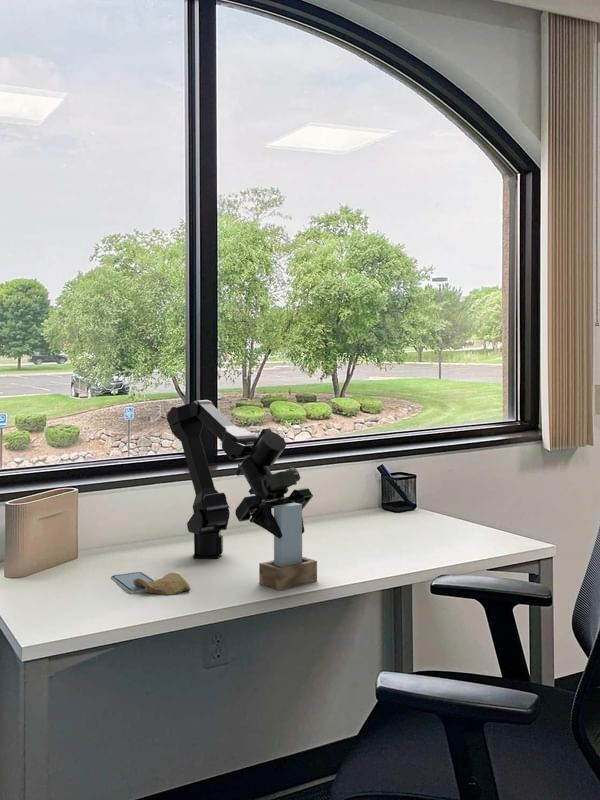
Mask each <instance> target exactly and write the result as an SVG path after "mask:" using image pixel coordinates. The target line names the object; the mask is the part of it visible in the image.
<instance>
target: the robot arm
mask: <svg viewBox="0 0 600 800" xmlns="http://www.w3.org/2000/svg"><path fill="white" fill-rule="evenodd" d="M166 420H167V423H168V426H169V428H170V431H171V433H172V435H174V436H175V437H176V438H177V439H178V441H180V443H181V446H182V451H183V454H184V457H185V461H186V464H187V467H188V471H189V476H190V478H191V482H192V485H193V489H194V493H195V496H194V500H193V503H192V511H193V513H192V516H191V517H190V518H189V520H188V521H187V522H186V527H187V532H188V533H191V534H193V544H194V545H193V546H194V547H193V551H194V552H193V554H192V559H193V558H194V559H219V558H220V557H221V556H222V554H223V552H224V536H223V535H222V533H221V532H222V531H226V530H227V529H228V524H229V520H230V516H231V515H230V505H229V504H228V503H229V502H228V501H227V496H226V494H225V492H219V491H218V490H217V489H216V487H215V484H214V481H213V478H212V473H211V469H210V466H209V464H208V459H207V456H206V452H205V449H204V445H203V442H202V440H201V439H202V438H201V433H202V431H203V427H204V426H205V427H207V429H209V431H211V432H212V434H214V435H215V437H217V438H218V439H219V441H220V442H221V449H222V451H223V452H224V453H225V455H226V456H227V457H228V458H229V459H230V460H233V461H234V460H242V459H243V460H242V461H241V463H238V464H237V469H236V476H237V477H239V476H244V478H245V480H246V481H247V483H248V485H249V487H250V488H249V490H248V493H249V495H250V496H249V495H248V496H245V497H243V499H242V500H241V501H240V503H239V504H238V506H237V507H236V509H235V513H234V514H235V517H236V518H237V520H238V521H239V523H240V522H246V521H249V523H254V524H255V525H257V526H259V527H260V528H262V529H264V530H266V531H267V532H269V533H270V534H271V535H273V536H274V535H275V536H276V537H278V538H279V539H280V538H282V536H283V535H282V533H281V530H280V528H279V526H278V524H277V522H276V520H275V519H274V514H273V512H272V509H274V506H278V505H284V504H290V503H299V504H302V510H303V509H304V508H305V507H307V506H306V505H308V503H309V502H310V501H311V500H312V498H313V497H314V495H313V493H312V492H311V490H310V489H309V488H307V487H301V488H295V489H293V490H292V492H290V495H289V496H285V494H287V493H288V492H289V488H290V487H292V486H295V485H297V484H298V482H299V481H300V479H301V476H300V472H299V471H298V469H297V468H296V467H290V468H288V469H285V470H283V471H277V472H275V473H272V472H271V470H270V467H271V466H273V465H274V464H275V463H276V461H277V460H278V459H279V457H280V455H282V453H283V452H284V450H285V449H286V446H287V442H286V439H284V437H283V436H281V435H280V434H278V433H276V432H274V431H272V429H271V428H269V427H268V428H262V429H261V431H260V433H259V435H258V436H257V435H255V434H254V433H252V432H251V431H249V430H248V429H245V428H241V427H239V426H237V425H235V424H234V423H233V422H232V420H230V419H229V418H228V417H226V416H225V415H224V414H223V413H222V412H221V411H220V410H219V409H218V408H217V407H215V405H214V403H213V401H211V400H208V399H203V400H202V399H200V400H194V401H191V402H190V403H187V404H185V405H180V406H173V407H171V408H170V409H169V411H168V412H167V415H166ZM304 533H305V525H304V520H303V518H302V535H303V534H304Z"/></svg>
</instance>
